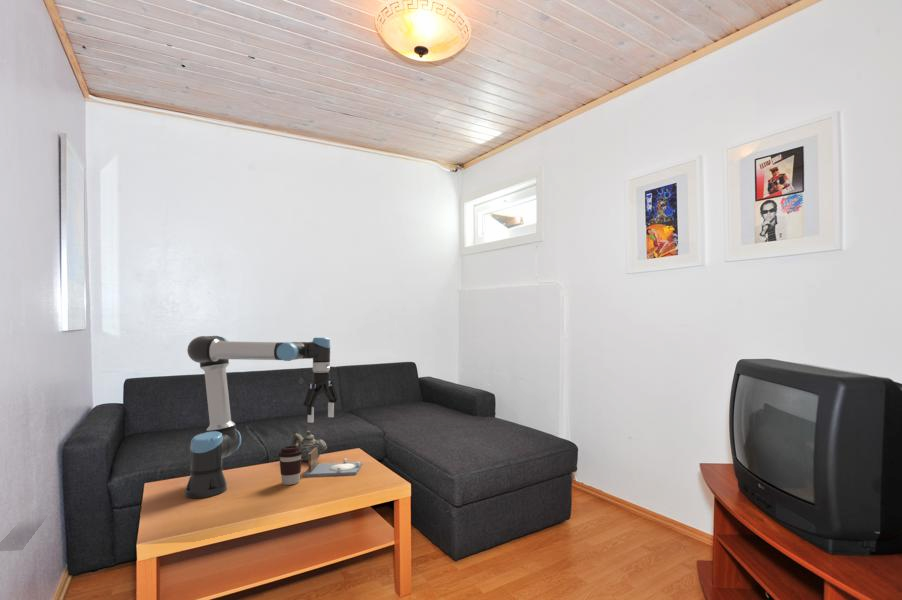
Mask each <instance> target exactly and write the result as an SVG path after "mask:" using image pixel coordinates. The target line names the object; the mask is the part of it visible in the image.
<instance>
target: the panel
mask: <svg viewBox="0 0 902 600" xmlns="http://www.w3.org/2000/svg"><path fill="white" fill-rule="evenodd" d="M318 464H319V457H318V447H316V448H314V449H313V450H312V451H311V452H310V453H309V454H308V467H307V469H308V472H311V471H312V470H313V469H314V468H315V467H316V466H317V465H318Z"/></svg>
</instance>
